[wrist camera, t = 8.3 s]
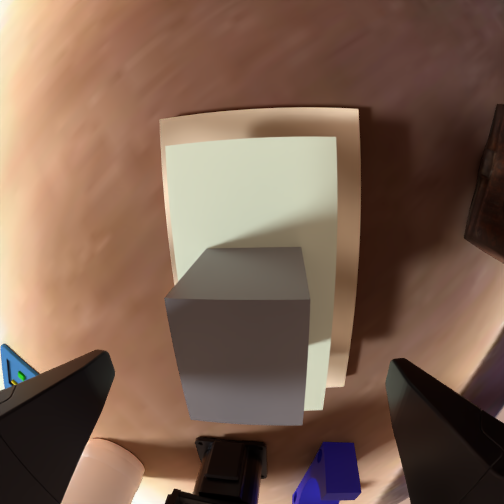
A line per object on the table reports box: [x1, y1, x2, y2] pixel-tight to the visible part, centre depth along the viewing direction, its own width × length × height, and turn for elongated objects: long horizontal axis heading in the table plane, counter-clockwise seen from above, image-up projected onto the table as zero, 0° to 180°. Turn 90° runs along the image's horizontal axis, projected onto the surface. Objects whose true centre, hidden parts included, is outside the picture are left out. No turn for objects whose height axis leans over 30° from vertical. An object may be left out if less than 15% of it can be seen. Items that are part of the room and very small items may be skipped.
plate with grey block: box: [164, 137, 337, 425], centre depth 12 cm, size 7×14×6 cm, turn 3°
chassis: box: [160, 107, 361, 387], centre depth 17 cm, size 18×11×4 cm, turn 3°
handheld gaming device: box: [1, 344, 39, 389], centre depth 27 cm, size 8×1×15 cm
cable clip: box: [292, 442, 361, 504], centre depth 22 cm, size 12×4×6 cm, turn 172°
